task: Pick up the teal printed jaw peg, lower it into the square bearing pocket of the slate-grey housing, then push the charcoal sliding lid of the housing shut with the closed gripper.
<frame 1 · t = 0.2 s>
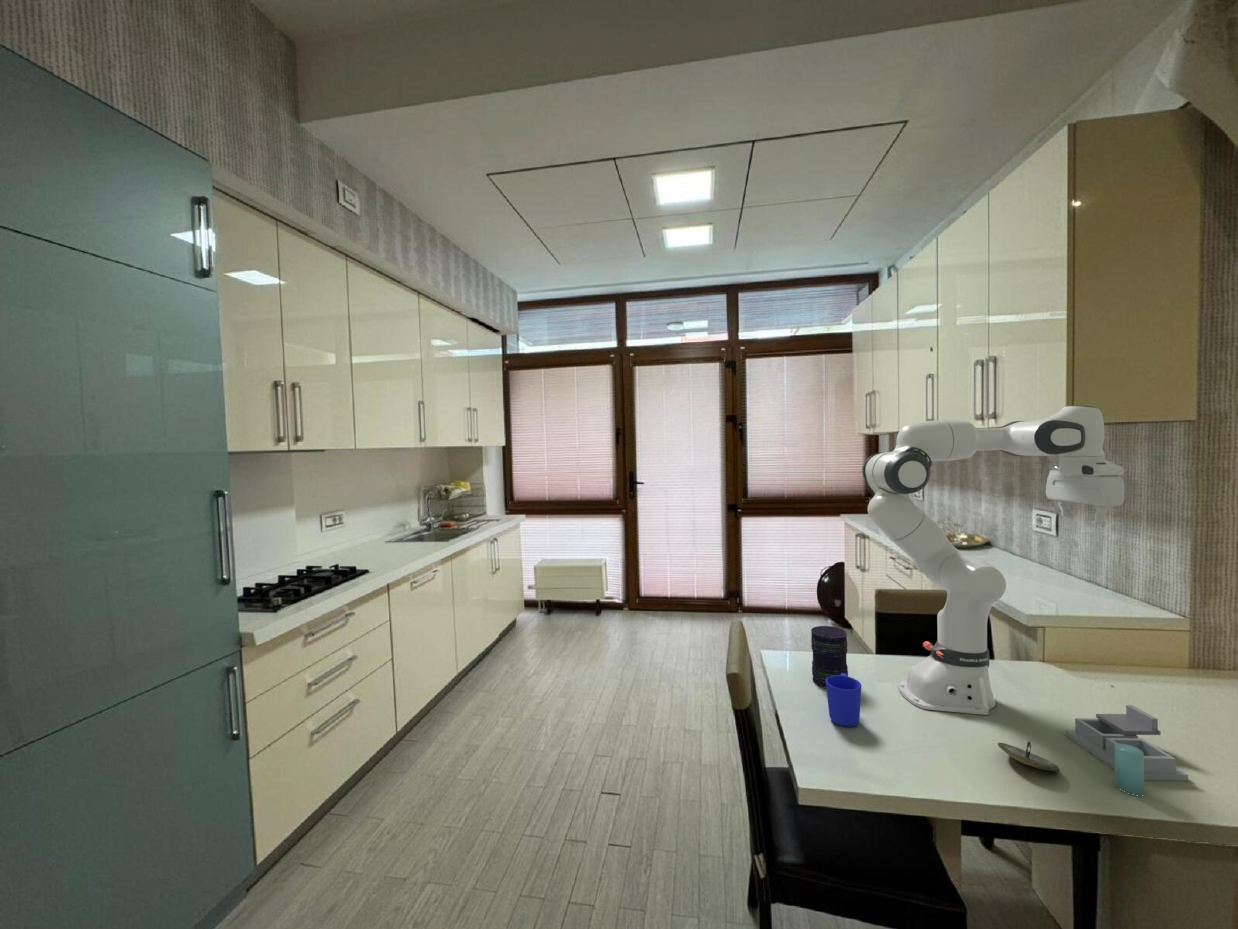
hand: (1081, 519, 133), 48 cm above the table, fingers open, 8 cm apart
storage jar: (830, 682, 148), on the table
housing: (1122, 756, 109), on the table
mug: (844, 718, 128), on the table
jaw peg: (1129, 789, 99), on the table
slide lid: (1127, 718, 113), point 6 cm above the table, slide at 4.5 cm
lid: (1028, 767, 107), on the table
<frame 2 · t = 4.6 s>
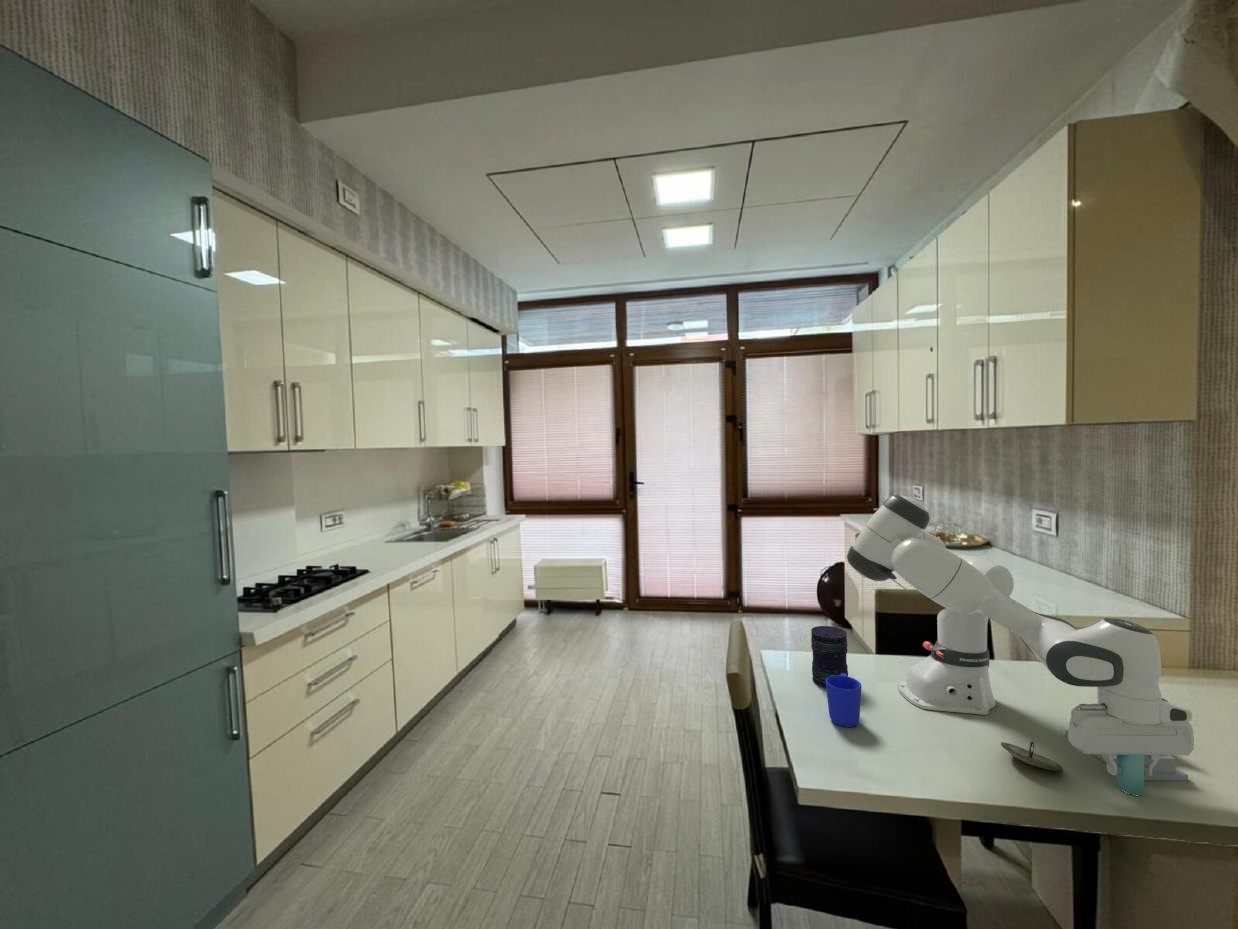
hand: (1129, 773, 99), 3 cm above the table, fingers closed on jaw peg, 4 cm apart
jaw peg: (1129, 789, 99), on the table, touching gripper
when the fingers open (6 cm above the table, at t = 9.3 s): jaw peg stays where it is, resting on housing.
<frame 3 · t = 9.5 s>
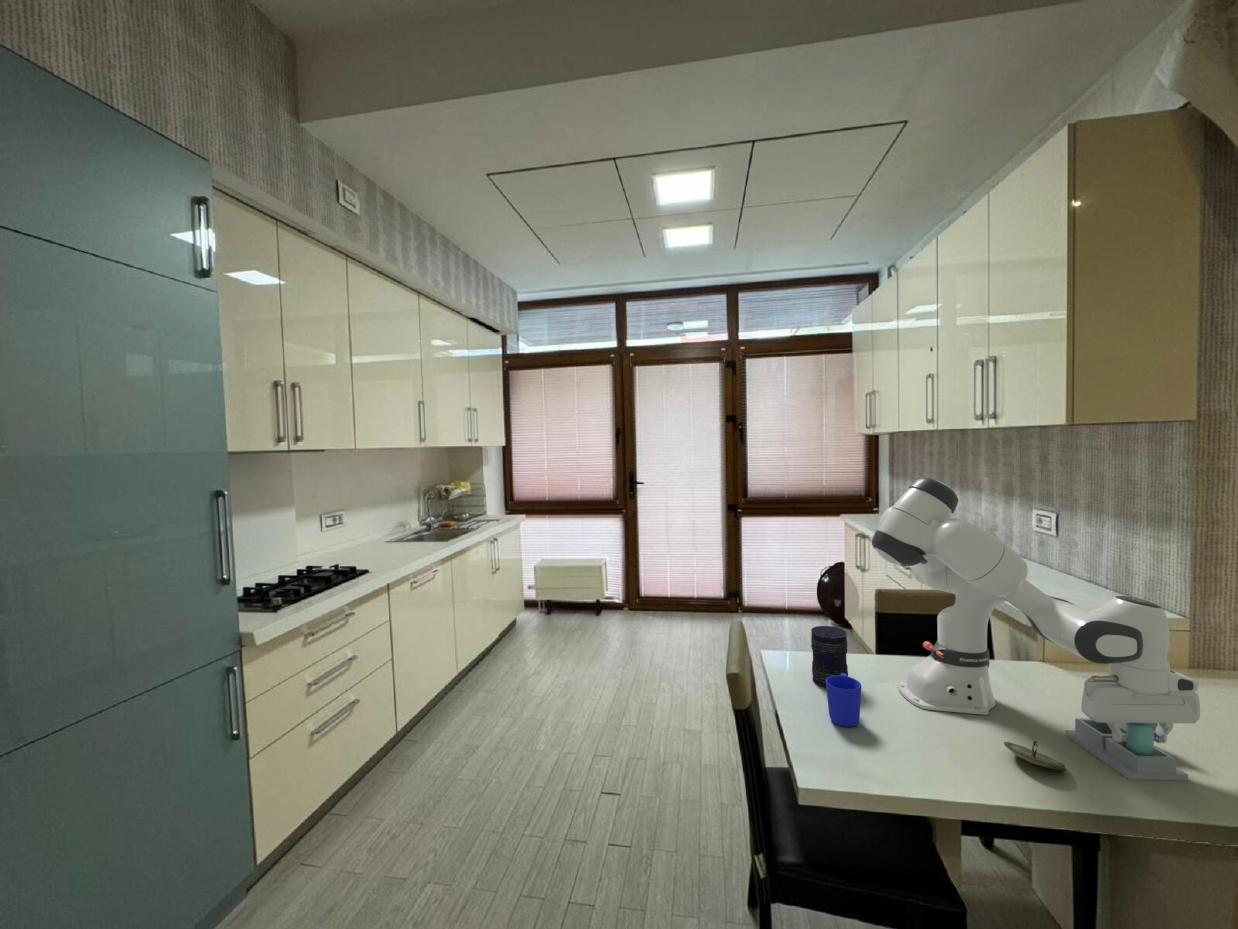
hand: (1139, 741, 105), 6 cm above the table, fingers open, 6 cm apart
jaw peg: (1139, 761, 105), point 1 cm above the table, touching housing
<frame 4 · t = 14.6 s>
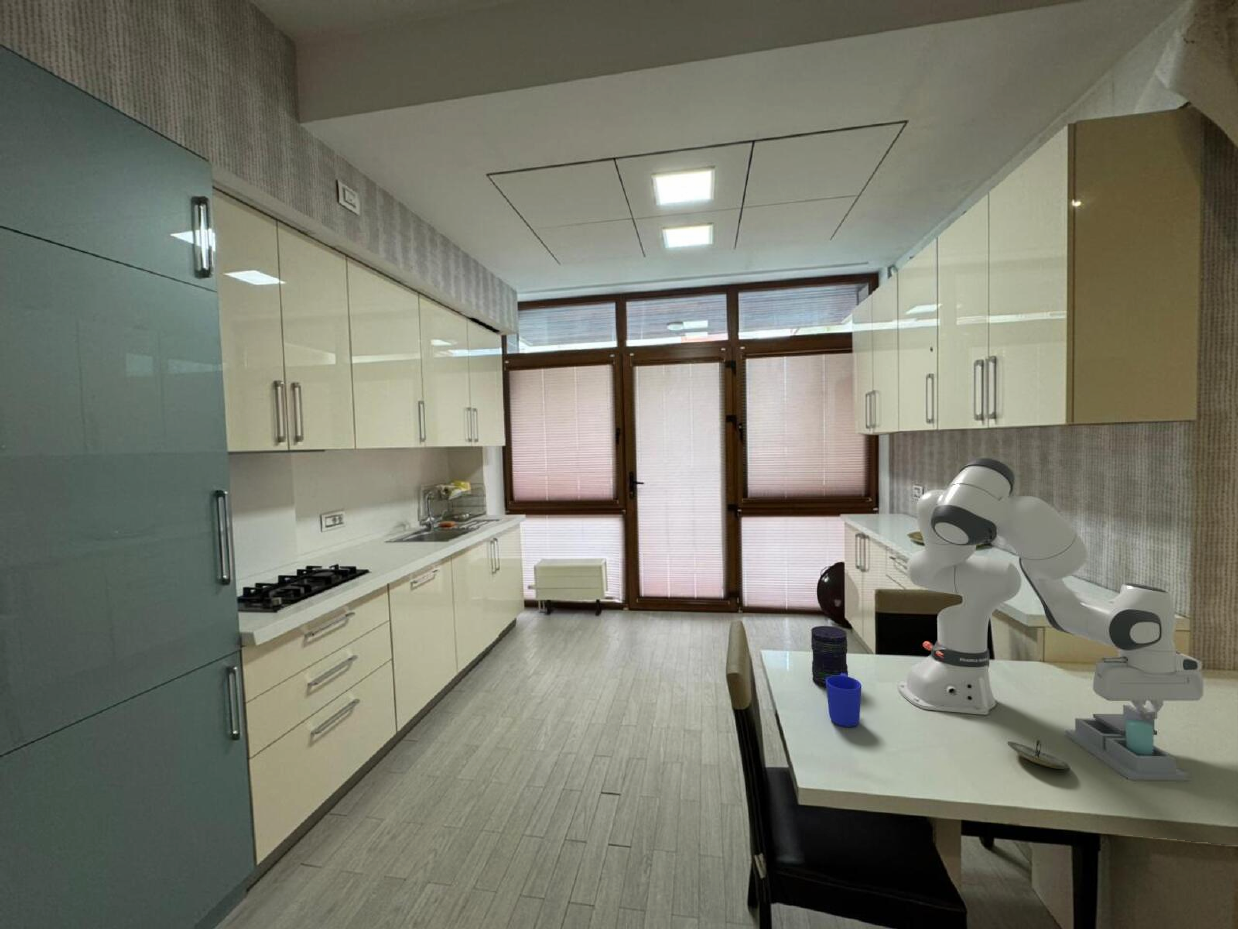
hand: (1146, 718, 113), 6 cm above the table, fingers closed
slide lid: (1123, 718, 113), point 6 cm above the table, slide at 3.8 cm, touching gripper
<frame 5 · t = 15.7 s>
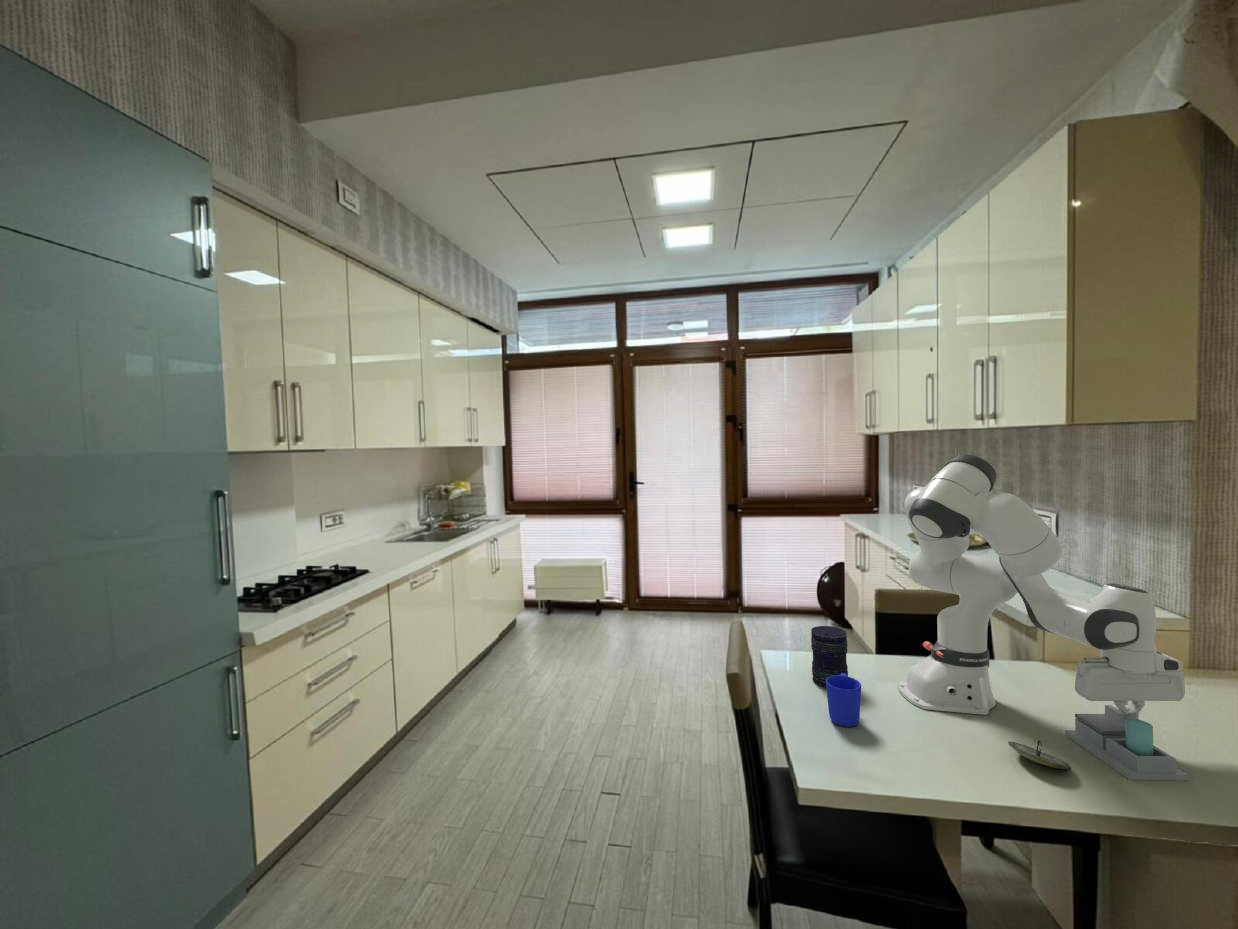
hand: (1128, 718, 113), 6 cm above the table, fingers closed
slide lid: (1105, 718, 113), point 6 cm above the table, slide at 0.0 cm, touching gripper
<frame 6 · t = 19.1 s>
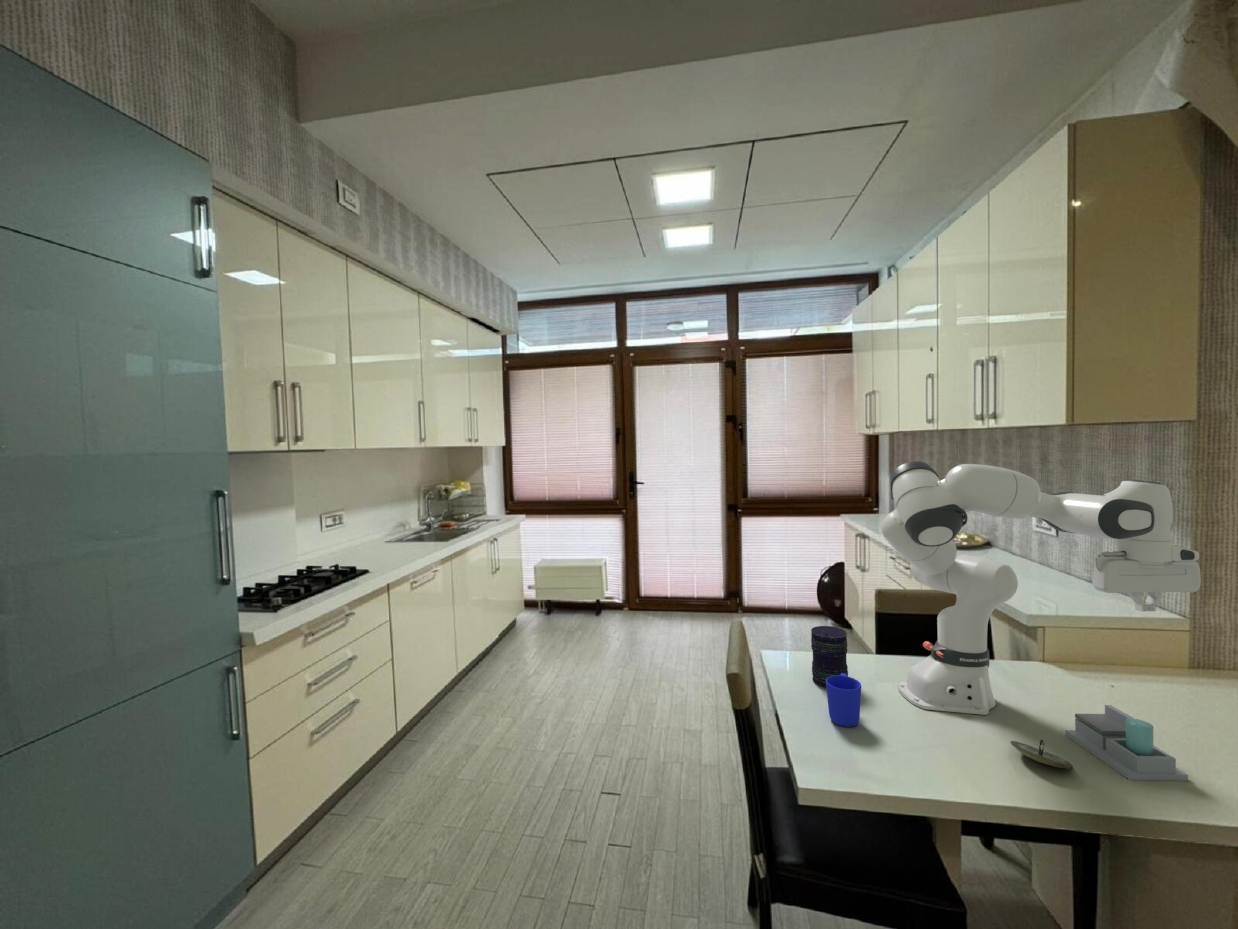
hand: (1145, 610, 115), 29 cm above the table, fingers closed
slide lid: (1105, 718, 113), point 6 cm above the table, slide at 0.0 cm
at the end: jaw peg 0.1 cm from the target spot on the housing, point 1.4 cm above the housing's base; jaw peg tilted 0°; slide lid slide at 0.0 cm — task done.
